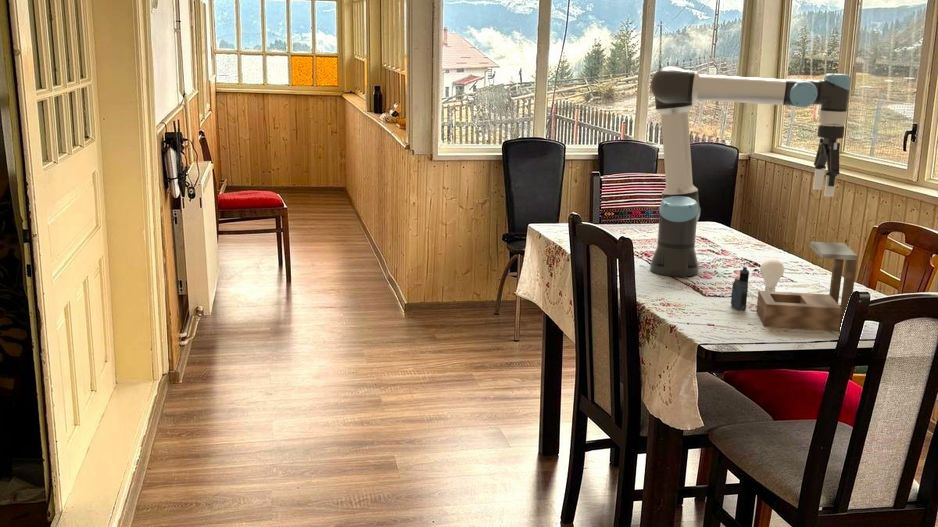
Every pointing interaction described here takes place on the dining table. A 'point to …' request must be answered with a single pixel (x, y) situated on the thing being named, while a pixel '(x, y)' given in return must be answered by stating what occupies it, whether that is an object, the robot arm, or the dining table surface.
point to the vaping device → (740, 290)
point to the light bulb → (771, 273)
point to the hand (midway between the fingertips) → (823, 193)
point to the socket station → (812, 296)
